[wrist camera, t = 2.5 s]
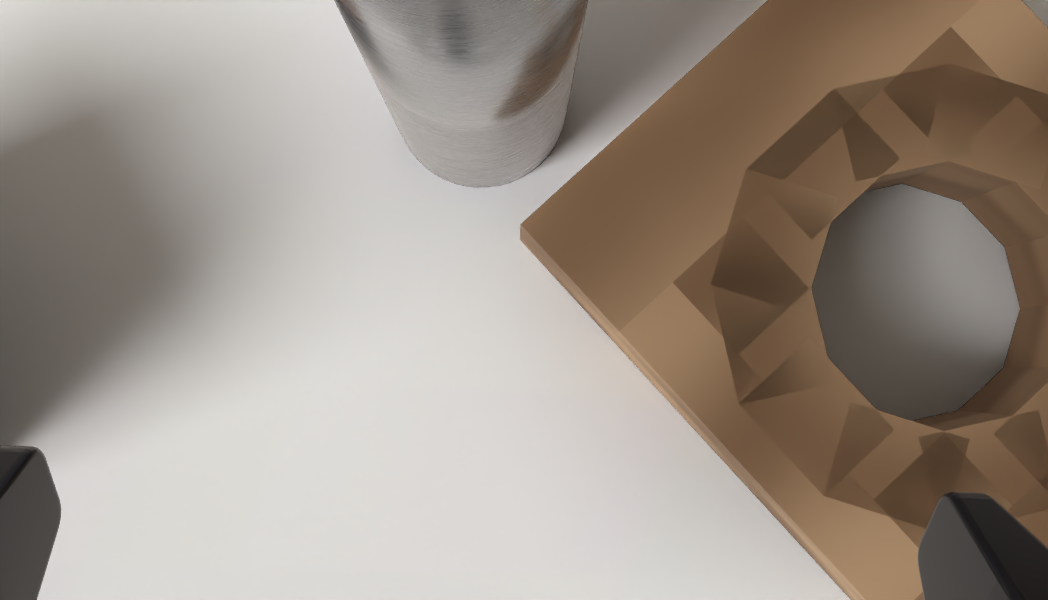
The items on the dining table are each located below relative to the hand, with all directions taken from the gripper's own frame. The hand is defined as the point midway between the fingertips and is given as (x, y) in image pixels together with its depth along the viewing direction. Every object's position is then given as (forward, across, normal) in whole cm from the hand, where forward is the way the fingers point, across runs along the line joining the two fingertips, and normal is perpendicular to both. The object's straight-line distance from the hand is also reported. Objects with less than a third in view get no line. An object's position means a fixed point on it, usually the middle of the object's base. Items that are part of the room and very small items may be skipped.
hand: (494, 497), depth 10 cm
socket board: (+12, -9, +6) cm, 16 cm away
